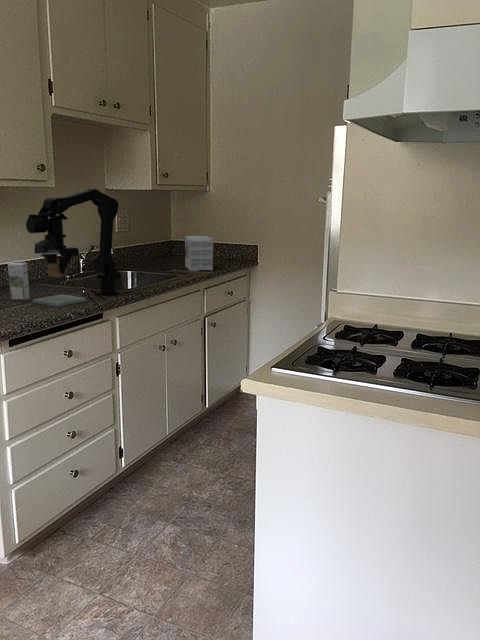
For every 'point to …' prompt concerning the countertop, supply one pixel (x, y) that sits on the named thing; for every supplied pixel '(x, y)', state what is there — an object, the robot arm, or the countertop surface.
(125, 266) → the countertop surface
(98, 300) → the countertop surface
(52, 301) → the plate
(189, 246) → the supplement box
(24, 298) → the syrup box
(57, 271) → the walnut cube
